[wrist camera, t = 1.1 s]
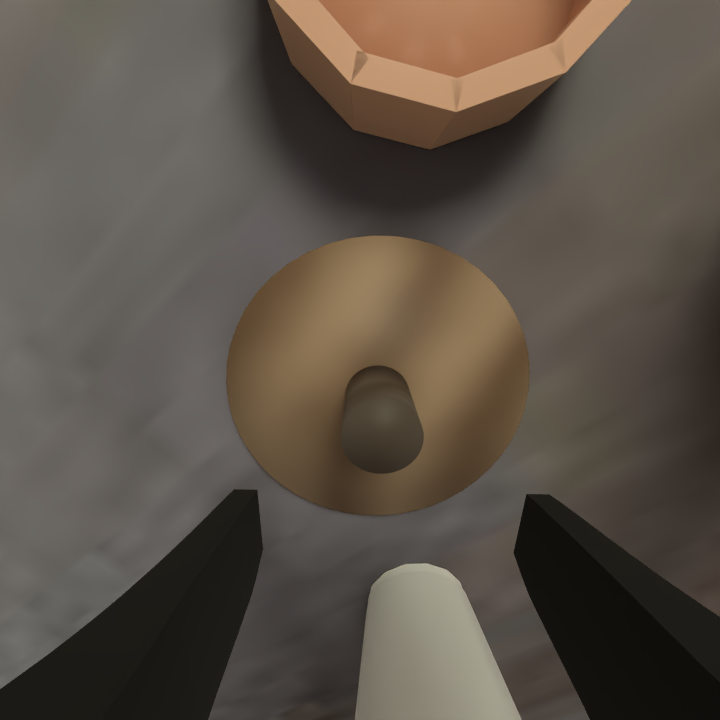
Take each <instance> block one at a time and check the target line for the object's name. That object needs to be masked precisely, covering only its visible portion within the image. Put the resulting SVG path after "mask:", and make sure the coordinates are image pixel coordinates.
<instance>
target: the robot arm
mask: <svg viewBox="0 0 720 720" xmlns="http://www.w3.org/2000/svg"><path fill="white" fill-rule="evenodd" d="M262 551H263V545H262V535H261V525H260V514H259V504H258V493H257V490H235V489H234V490H233V491H232V492H231V493H230V494H229V495H228V496H227V497H226V498H225V499H224V500H223V501H222V502H221V503H220V504H219V505H218V506H217V507H216V508H215V509H214V510H213V511H212V512H211V513H210V514H209V515H208V516H207V517H206V518H205V519H204V520H203V521H202V522H201V523H200V524H199V525H198V526H197V527H196V528H195V529H194V530H193V531H192V532H191V533H190V534H189V535H187V536H186V537H185V538H184V539H183V540H182V541H181V542H180V543H179V544H178V545H177V546H176V547H175V548H174V549H173V550H172V551H171V552H170V553H169V554H168V555H167V556H165V557H164V558H163V559H162V560H161V561H160V562H159V563H158V564H157V565H156V566H155V567H153V568H152V569H151V570H150V571H149V572H148V573H147V574H146V575H144V576H143V577H142V578H141V579H140V580H139V581H138V582H137V583H135V584H134V585H133V586H132V587H131V588H130V589H129V590H128V591H126V592H125V593H124V594H123V595H122V596H121V597H119V598H118V599H117V600H116V601H115V602H114V603H112V604H111V605H110V606H109V607H108V608H106V609H105V610H104V611H103V612H102V613H100V614H99V615H98V616H97V617H95V618H94V619H93V620H92V621H91V622H89V623H88V624H87V625H86V626H84V627H83V628H82V629H80V630H79V631H78V632H77V633H75V634H74V635H73V636H72V637H70V638H69V639H68V640H67V641H65V642H64V643H63V644H61V645H60V646H59V647H57V648H56V649H55V650H54V651H52V652H51V653H50V654H48V655H47V656H46V657H44V658H43V659H41V660H40V661H39V662H37V663H36V664H34V665H33V666H32V667H30V668H29V669H28V670H26V671H25V672H23V673H22V674H21V675H19V676H18V677H17V678H15V679H14V680H12V681H11V682H10V683H8V684H7V685H5V686H4V687H3V688H1V689H0V720H208V718H209V715H210V712H211V709H212V706H213V703H214V700H215V697H216V694H217V691H218V688H219V686H220V683H221V680H222V677H223V674H224V672H225V669H226V666H227V663H228V660H229V657H230V655H231V652H232V649H233V646H234V643H235V640H236V638H237V635H238V632H239V629H240V626H241V623H242V621H243V618H244V615H245V612H246V609H247V606H248V603H249V601H250V598H251V595H252V592H253V588H254V584H255V580H256V576H257V572H258V568H259V563H260V559H261V555H262ZM514 555H515V558H516V561H517V564H518V567H519V569H520V572H521V575H522V578H523V580H524V583H525V586H526V588H527V591H528V593H529V596H530V598H531V600H532V602H533V604H534V606H535V609H536V611H537V613H538V615H539V617H540V619H541V621H542V623H543V625H544V627H545V629H546V631H547V633H548V635H549V637H550V639H551V641H552V643H553V645H554V647H555V649H556V651H557V653H558V655H559V657H560V659H561V661H562V663H563V665H564V667H565V669H566V671H567V673H568V675H569V677H570V679H571V681H572V683H573V685H574V687H575V689H576V691H577V693H578V695H579V697H580V699H581V701H582V703H583V705H584V707H585V710H586V712H587V714H588V716H589V718H590V720H720V617H719V616H717V615H716V614H714V613H713V612H711V611H710V610H708V609H707V608H705V607H704V606H702V605H701V604H700V603H698V602H697V601H695V600H694V599H692V598H691V597H689V596H688V595H686V594H685V593H684V592H682V591H681V590H679V589H678V588H676V587H675V586H673V585H672V584H670V583H669V582H668V581H666V580H665V579H663V578H662V577H661V576H659V575H658V574H656V573H655V572H654V571H652V570H651V569H649V568H648V567H647V566H645V565H644V564H643V563H641V562H640V561H638V560H637V559H636V558H634V557H633V556H632V555H630V554H629V553H628V552H626V551H625V550H623V549H622V548H621V547H619V546H618V545H617V544H615V543H614V542H613V541H611V540H610V539H609V538H607V537H606V536H605V535H603V534H602V533H601V532H599V531H598V530H597V529H595V528H594V527H593V526H592V525H590V524H589V523H588V522H586V521H585V520H584V519H582V518H581V517H580V516H578V515H577V514H576V513H574V512H573V511H572V510H570V509H569V508H568V507H566V506H565V505H563V504H562V503H561V502H559V501H558V500H556V499H555V498H553V497H552V496H551V495H542V494H526V499H525V503H524V508H523V512H522V517H521V522H520V526H519V531H518V535H517V540H516V545H515V549H514Z"/></svg>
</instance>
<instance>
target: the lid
mask: <svg viewBox="0 0 720 720" xmlns="http://www.w3.org/2000/svg"><path fill="white" fill-rule="evenodd" d="M529 373H530V370H529V359H528V351H527V347H526V342H525V338H524V334H523V331H522V329H521V327H520V324H519V322H518V319H517V317H516V315H515V313H514V311H513V310H512V308H511V306H510V304H509V303H508V301H507V299H506V298H505V297H504V295H503V294H502V293H501V292H500V291H499V289H498V288H497V287H496V286H495V284H494V283H493V282H492V281H491V280H490V279H489V278H488V277H486V276H485V275H484V274H483V273H482V272H481V271H480V270H479V269H478V268H476V267H475V266H473V265H472V264H470V263H469V262H467V261H466V260H464V259H463V258H461V257H460V256H458V255H456V254H454V253H452V252H450V251H448V250H446V249H444V248H441V247H439V246H436V245H433V244H430V243H427V242H423V241H420V240H416V239H410V238H404V237H398V236H365V237H356V238H349V239H345V240H341V241H337V242H334V243H330V244H327V245H324V246H322V247H319V248H317V249H315V250H312V251H310V252H307V253H306V254H304V255H302V256H301V257H299V258H297V259H296V260H294V261H292V262H290V263H289V264H287V265H286V266H285V267H284V268H282V269H281V270H280V271H279V272H277V273H276V274H275V275H274V276H272V277H271V278H270V279H269V280H268V281H267V283H266V284H265V285H264V286H263V287H262V288H261V289H260V290H259V291H258V292H257V293H256V295H255V296H254V298H253V299H252V301H251V302H250V303H249V305H248V306H247V308H246V309H245V311H244V313H243V315H242V317H241V319H240V321H239V323H238V325H237V327H236V330H235V333H234V336H233V339H232V342H231V345H230V350H229V356H228V361H227V379H226V384H227V393H228V401H229V405H230V409H231V413H232V417H233V420H234V422H235V425H236V427H237V430H238V432H239V435H240V436H241V438H242V440H243V442H244V443H245V445H246V447H247V449H248V450H249V452H250V453H251V454H252V456H253V457H254V458H255V459H256V461H257V462H258V463H259V465H260V466H261V467H262V468H263V469H264V470H265V471H266V472H267V473H268V474H269V475H270V476H271V477H273V478H274V479H275V480H276V481H278V482H279V483H280V484H281V485H282V486H284V487H285V488H287V489H288V490H290V491H292V492H293V493H295V494H296V495H298V496H300V497H302V498H304V499H306V500H308V501H310V502H312V503H315V504H317V505H320V506H323V507H326V508H329V509H332V510H337V511H341V512H345V513H352V514H360V515H391V514H400V513H405V512H411V511H415V510H419V509H422V508H425V507H429V506H432V505H434V504H436V503H439V502H441V501H444V500H446V499H448V498H450V497H452V496H453V495H455V494H457V493H459V492H461V491H462V490H464V489H465V488H467V487H468V486H469V485H471V484H472V483H474V482H475V481H476V480H478V479H479V478H480V477H481V476H482V475H483V474H484V473H485V472H486V471H487V470H489V469H490V468H491V466H492V465H493V464H494V463H495V462H496V461H497V459H498V458H499V457H500V456H501V455H502V453H503V452H504V450H505V449H506V447H507V446H508V444H509V443H510V441H511V440H512V438H513V436H514V434H515V432H516V430H517V428H518V426H519V423H520V421H521V418H522V415H523V412H524V409H525V405H526V400H527V395H528V390H529Z"/></svg>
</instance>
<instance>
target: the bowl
mask: <svg viewBox="0 0 720 720" xmlns="http://www.w3.org/2000/svg"><path fill="white" fill-rule="evenodd" d="M630 1H631V0H268V3H269V5H270V8H271V11H272V13H273V16H274V19H275V21H276V24H277V27H278V29H279V32H280V35H281V37H282V40H283V43H284V45H285V48H286V50H287V53H288V56H289V58H290V61H291V64H292V65H293V66H294V67H295V68H296V69H297V70H298V71H299V72H300V74H301V75H302V76H303V77H304V78H305V79H306V80H307V81H308V82H309V83H310V84H311V85H312V86H313V87H314V88H315V89H316V91H317V92H318V93H319V94H320V95H321V96H322V97H323V98H324V99H325V100H326V101H327V102H328V103H329V104H330V105H331V107H332V108H333V109H334V110H335V111H336V112H337V113H338V114H339V115H340V116H341V117H342V118H343V119H344V120H345V121H346V123H347V124H348V125H349V126H350V127H351V128H352V129H353V130H355V131H359V132H363V133H367V134H371V135H375V136H379V137H383V138H386V139H390V140H394V141H398V142H402V143H406V144H410V145H413V146H417V147H421V148H425V149H429V150H431V149H433V148H436V147H439V146H442V145H445V144H447V143H450V142H453V141H456V140H459V139H462V138H464V137H467V136H470V135H473V134H476V133H479V132H481V131H484V130H487V129H490V128H493V127H495V126H498V125H501V124H504V123H507V122H508V121H510V120H511V119H512V118H513V117H514V116H515V115H517V114H518V113H519V112H520V111H521V110H522V109H524V108H525V107H526V106H527V105H528V104H529V103H531V102H532V101H533V100H534V99H535V98H536V97H538V96H539V95H540V94H541V93H542V92H543V91H545V90H546V89H547V88H548V87H549V86H550V85H552V84H553V83H554V82H555V81H556V80H557V79H559V78H560V77H561V76H562V75H563V74H564V73H566V72H567V71H568V69H569V68H570V67H571V66H572V65H573V64H574V63H575V62H576V61H577V60H578V58H579V57H580V56H581V55H582V54H583V53H584V52H585V51H586V50H587V49H588V47H589V46H590V45H591V44H592V43H593V42H594V41H595V40H596V39H597V38H598V37H599V35H600V34H601V33H602V32H603V31H604V30H605V29H606V28H607V27H608V26H609V24H610V23H611V22H612V21H613V20H614V19H615V18H616V17H617V16H618V15H619V13H620V12H621V11H622V10H623V9H624V8H625V7H626V6H627V5H628V4H629V3H630Z"/></svg>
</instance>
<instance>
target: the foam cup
mask: <svg viewBox="0 0 720 720" xmlns="http://www.w3.org/2000/svg"><path fill="white" fill-rule="evenodd" d="M355 720H521V717H520V715H519V713H518V711H517V708H516V706H515V704H514V702H513V699H512V697H511V695H510V693H509V690H508V688H507V686H506V684H505V681H504V679H503V677H502V675H501V672H500V670H499V668H498V666H497V663H496V661H495V659H494V657H493V654H492V652H491V650H490V647H489V645H488V643H487V641H486V638H485V636H484V634H483V632H482V629H481V627H480V625H479V623H478V620H477V618H476V616H475V614H474V611H473V609H472V607H471V605H470V602H469V600H468V598H467V596H466V593H465V591H464V590H463V589H462V586H461V583H460V581H459V580H457V579H456V578H455V577H454V576H453V575H452V574H451V573H450V572H449V571H448V570H446V569H443V568H440V567H437V566H434V565H431V564H428V563H423V564H404V565H401V566H399V567H396V568H394V569H391V570H389V571H386V572H384V573H383V574H382V575H381V576H380V578H379V579H378V580H377V581H376V582H375V583H374V584H373V585H372V586H371V590H370V594H369V598H368V607H367V611H366V620H365V630H364V639H363V648H362V658H361V667H360V676H359V686H358V695H357V704H356V714H355Z"/></svg>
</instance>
